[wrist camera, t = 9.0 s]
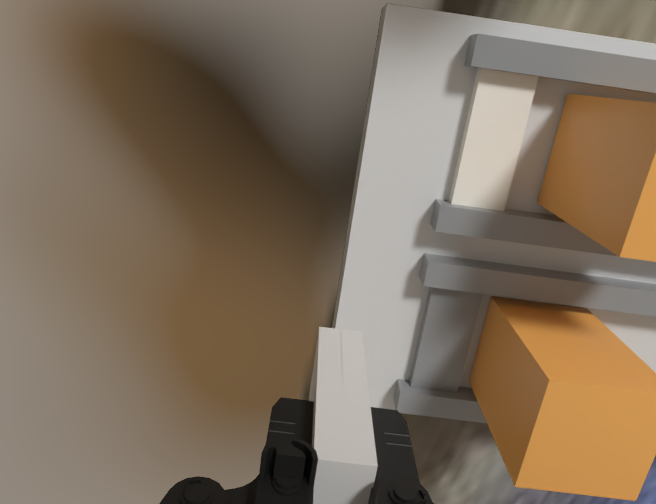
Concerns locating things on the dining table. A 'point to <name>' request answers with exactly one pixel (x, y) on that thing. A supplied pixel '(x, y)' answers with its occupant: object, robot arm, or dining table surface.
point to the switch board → (475, 200)
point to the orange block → (606, 173)
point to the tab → (565, 400)
